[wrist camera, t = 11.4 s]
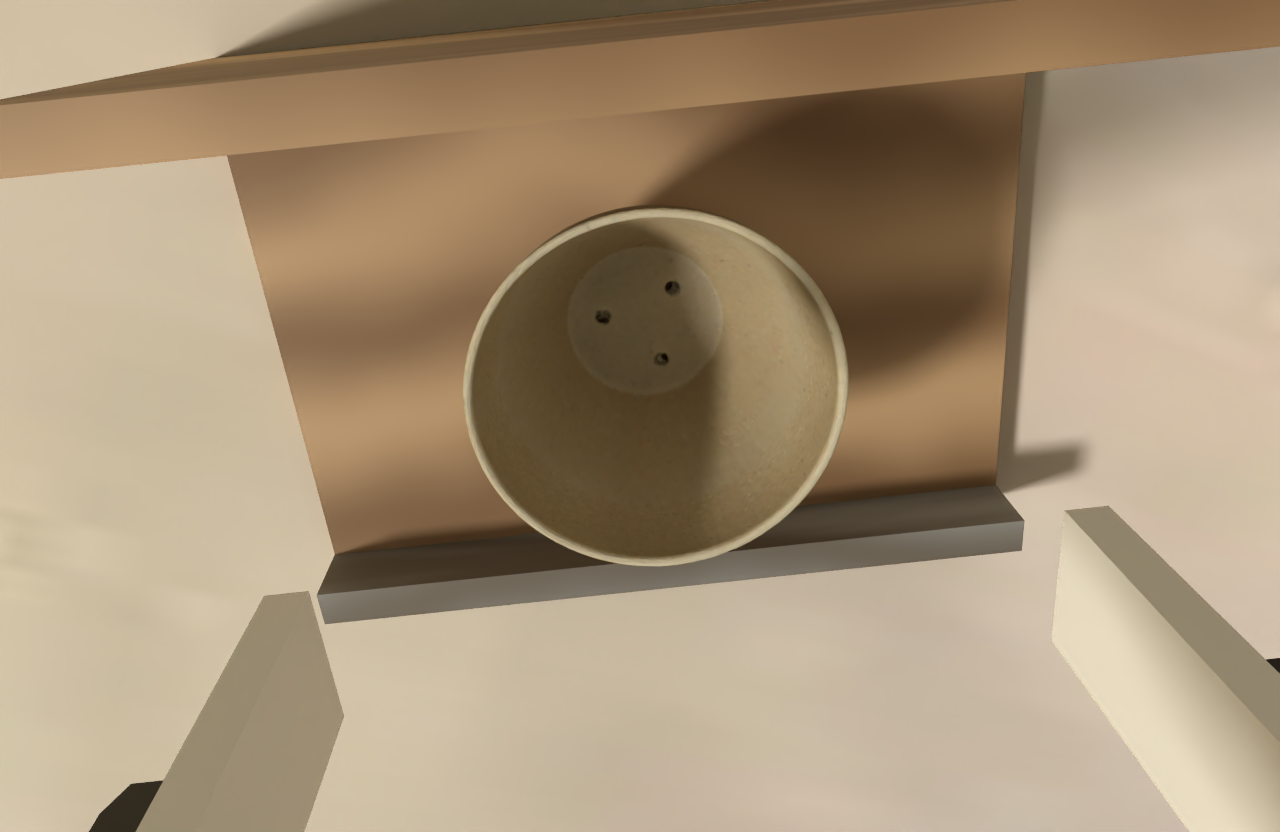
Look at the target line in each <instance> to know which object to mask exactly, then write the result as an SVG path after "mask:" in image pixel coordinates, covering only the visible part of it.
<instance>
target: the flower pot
mask: <svg viewBox="0 0 1280 832" xmlns="http://www.w3.org/2000/svg"><path fill="white" fill-rule="evenodd" d="M669 282H672V287H671V288H670V289H669V290H666V285H667V283H669ZM600 318H607V319H608V322H599V321H598V319H600ZM664 353H665V354H666V356H667V358H668V361H666V360H664V359H663V358H662V355H663V354H664ZM848 393H849V373H848V362H847V355H846V350H845V346H844V342H843V338H842V334H841V331H840V328H839V325H838V323H837V320H836V318H835V316H834V313H833V311H832V309H831V307H830V306H829V304H828V302H827V300H826V298H825V297H824V295H823V293H822V292H821V290H820V289H819V287H818V286H817V284H816V283H815V282H814V280H813V279H812V278H811V277H810V275H809V274H808V273H807V272H806V271H805V270H804V268H803V267H802V266H801V265H800V264H799V263H798V262H797V261H796V260H795V259H794V258H793V257H791V256H790V255H789V254H788V253H787V252H785V251H784V250H783V249H782V248H780V247H779V246H778V245H776V244H775V243H774V242H772V241H771V240H769V239H768V238H766V237H765V236H763V235H762V234H760V233H758V232H757V231H755V230H753V229H751V228H749V227H747V226H746V225H743V224H741V223H739V222H737V221H735V220H732V219H730V218H727V217H724V216H722V215H719V214H715V213H712V212H709V211H705V210H701V209H696V208H691V207H685V206H675V205H639V206H630V207H624V208H619V209H614V210H610V211H606V212H603V213H600V214H597V215H594V216H591V217H588V218H586V219H584V220H581V221H579V222H577V223H575V224H573V225H571V226H569V227H567V228H565V229H563V230H562V231H560V232H558V233H557V234H555V235H554V236H552V237H551V238H549V239H548V240H546V241H545V242H544V243H542V244H541V245H540V246H539V247H537V248H536V249H535V250H534V251H532V252H531V253H530V254H529V255H528V256H527V257H526V258H525V259H524V260H523V261H522V262H520V263H519V264H518V265H517V266H516V267H515V268H514V269H513V271H512V272H511V273H510V274H509V275H508V276H507V278H506V279H505V280H504V281H503V283H502V284H501V285H500V286H499V288H498V289H497V291H496V292H495V293H494V295H493V296H492V298H491V299H490V301H489V303H488V304H487V306H486V308H485V309H484V311H483V313H482V315H481V317H480V319H479V321H478V323H477V326H476V328H475V331H474V334H473V337H472V339H471V342H470V346H469V349H468V353H467V358H466V363H465V370H464V379H463V405H464V413H465V419H466V424H467V428H468V433H469V437H470V440H471V443H472V446H473V448H474V451H475V453H476V456H477V458H478V460H479V463H480V465H481V467H482V469H483V471H484V472H485V474H486V476H487V478H488V479H489V481H490V482H491V484H492V485H493V487H494V488H495V490H496V491H497V492H498V494H499V495H500V496H501V497H502V499H503V500H504V501H505V502H506V503H507V504H508V505H509V506H510V507H511V508H512V509H513V511H515V513H516V514H517V515H518V516H519V517H521V518H522V519H523V520H524V521H525V522H527V523H528V524H529V525H530V526H532V527H533V528H534V529H536V530H537V531H539V532H540V533H541V534H543V535H545V536H547V537H548V538H550V539H551V540H553V541H555V542H557V543H559V544H561V545H563V546H565V547H567V548H569V549H571V550H574V551H576V552H579V553H581V554H584V555H587V556H590V557H593V558H596V559H600V560H604V561H608V562H613V563H618V564H624V565H635V566H671V565H679V564H685V563H691V562H696V561H700V560H705V559H708V558H712V557H715V556H718V555H721V554H723V553H726V552H728V551H730V550H733V549H736V548H738V547H741V546H742V545H744V544H746V543H749V542H750V541H752V540H754V539H755V538H757V537H759V536H760V535H762V534H763V533H765V532H766V531H768V530H769V529H770V528H772V527H773V526H775V525H776V524H778V523H779V522H780V521H782V520H783V519H784V518H785V517H786V516H787V515H788V514H790V513H791V512H792V511H793V509H794V508H795V507H797V506H798V505H799V504H800V503H801V501H802V500H803V499H804V498H805V497H806V496H807V495H808V493H809V492H810V491H811V490H812V488H813V487H814V485H815V484H816V483H817V481H818V480H819V478H820V477H821V475H822V474H823V472H824V470H825V469H826V467H827V465H828V463H829V461H830V459H831V457H832V455H833V453H834V451H835V449H836V446H837V443H838V440H839V438H840V435H841V432H842V428H843V424H844V420H845V415H846V409H847V402H848Z"/></svg>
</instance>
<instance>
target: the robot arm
mask: <svg viewBox="0 0 1280 832" xmlns="http://www.w3.org/2000/svg"><path fill="white" fill-rule="evenodd" d="M1051 640H1052V642H1053V643H1054V644H1055V646H1056V647H1057V649H1058V650H1059V651H1060V653H1061V654H1062V656H1063V657H1064V658H1065V660H1066V661H1067V662H1068V664H1069V665H1070V667H1071V668H1072V669H1073V671H1074V672H1075V674H1076V675H1077V676H1078V678H1079V679H1080V681H1081V682H1082V683H1083V685H1084V686H1085V688H1086V689H1087V690H1088V692H1089V693H1090V695H1091V696H1092V697H1093V699H1094V700H1095V701H1096V703H1097V704H1098V706H1099V707H1100V708H1101V710H1102V711H1103V713H1104V714H1105V715H1106V717H1107V718H1108V720H1109V721H1110V722H1111V724H1112V725H1113V727H1114V728H1115V729H1116V731H1117V732H1118V733H1119V735H1120V736H1121V738H1122V739H1123V740H1124V742H1125V743H1126V745H1127V746H1128V747H1129V749H1130V750H1131V752H1132V753H1133V754H1134V756H1135V757H1136V759H1137V760H1138V761H1139V763H1140V764H1141V766H1142V767H1143V768H1144V770H1145V771H1146V772H1147V774H1148V775H1149V777H1150V778H1151V779H1152V781H1153V782H1154V784H1155V785H1156V786H1157V788H1158V789H1159V791H1160V792H1161V793H1162V795H1163V796H1164V798H1165V799H1166V800H1167V802H1168V803H1169V805H1170V806H1171V807H1172V809H1173V810H1174V811H1175V813H1176V814H1177V816H1178V817H1179V818H1180V820H1181V821H1182V823H1183V824H1184V825H1185V827H1186V828H1187V830H1188V831H1189V832H1280V658H1276V659H1267V660H1265V659H1264V658H1263V657H1262V656H1261V655H1260V654H1259V653H1258V652H1257V651H1256V650H1255V649H1254V648H1253V647H1252V646H1251V645H1250V644H1249V643H1248V642H1247V641H1246V640H1245V639H1244V638H1243V637H1242V636H1241V635H1240V634H1239V633H1238V632H1237V631H1236V630H1235V629H1234V628H1233V627H1232V626H1231V625H1230V624H1229V623H1228V622H1227V621H1226V620H1225V619H1223V618H1222V617H1221V616H1220V615H1219V614H1218V613H1217V612H1216V611H1215V610H1214V609H1213V608H1212V607H1211V606H1210V605H1209V604H1208V603H1207V602H1206V601H1205V600H1204V599H1203V598H1202V597H1201V596H1200V595H1199V594H1198V593H1197V592H1196V591H1195V590H1194V589H1193V588H1192V587H1191V586H1190V585H1189V584H1188V583H1187V582H1186V581H1185V580H1184V579H1183V578H1182V577H1181V576H1180V575H1179V574H1178V573H1177V572H1176V571H1175V570H1173V569H1172V568H1171V567H1170V566H1169V565H1168V564H1167V563H1166V562H1165V561H1164V560H1163V559H1162V558H1161V557H1160V556H1159V555H1158V554H1157V553H1156V552H1155V551H1154V550H1153V549H1152V548H1151V547H1150V546H1149V545H1148V544H1147V543H1146V542H1145V541H1144V540H1143V539H1142V538H1141V537H1140V536H1139V535H1138V534H1137V533H1136V532H1135V531H1134V530H1133V529H1132V528H1131V527H1130V526H1129V525H1128V524H1127V523H1126V522H1125V521H1123V520H1122V519H1121V518H1120V517H1119V516H1118V515H1117V514H1116V513H1115V512H1114V511H1113V510H1112V509H1111V508H1110V507H1109V506H1103V507H1094V508H1084V509H1075V510H1066V511H1065V513H1064V522H1063V532H1062V542H1061V551H1060V561H1059V571H1058V581H1057V590H1056V600H1055V610H1054V619H1053V629H1052V639H1051ZM343 718H344V714H343V711H342V707H341V704H340V700H339V697H338V693H337V689H336V686H335V682H334V679H333V675H332V672H331V668H330V665H329V661H328V658H327V654H326V651H325V647H324V644H323V640H322V637H321V633H320V630H319V626H318V623H317V619H316V616H315V612H314V609H313V605H312V601H311V598H310V594H309V591H306V592H296V593H287V594H278V595H268V596H264V597H263V599H262V601H261V603H260V605H259V606H258V608H257V610H256V612H255V614H254V616H253V617H252V619H251V621H250V623H249V625H248V627H247V628H246V630H245V632H244V634H243V636H242V638H241V639H240V641H239V643H238V645H237V647H236V649H235V650H234V652H233V654H232V656H231V658H230V660H229V661H228V663H227V665H226V667H225V669H224V671H223V672H222V674H221V676H220V678H219V680H218V682H217V683H216V685H215V687H214V689H213V691H212V693H211V694H210V696H209V698H208V700H207V702H206V704H205V705H204V707H203V709H202V711H201V713H200V715H199V716H198V718H197V720H196V722H195V724H194V726H193V727H192V729H191V731H190V733H189V735H188V737H187V738H186V740H185V742H184V744H183V746H182V748H181V749H180V751H179V753H178V755H177V757H176V759H175V760H174V762H173V764H172V766H171V768H170V770H169V771H168V773H167V775H166V777H165V779H164V780H163V781H154V782H145V783H136V784H131V785H130V786H128V787H127V788H126V789H125V790H124V791H123V792H122V793H121V794H120V795H119V796H118V797H117V798H116V799H115V800H114V801H113V802H112V803H111V804H110V805H109V806H107V807H106V808H105V809H104V810H103V811H102V812H101V813H100V814H99V816H98V818H97V819H96V821H95V823H94V824H93V826H92V828H91V829H90V831H89V832H304V831H305V828H306V825H307V822H308V819H309V817H310V814H311V811H312V808H313V805H314V802H315V799H316V796H317V793H318V790H319V787H320V785H321V782H322V779H323V776H324V773H325V770H326V767H327V764H328V761H329V758H330V755H331V752H332V750H333V747H334V744H335V741H336V738H337V735H338V732H339V729H340V726H341V723H342V720H343Z"/></svg>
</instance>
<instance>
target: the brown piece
mask: <svg viewBox="0 0 1280 832" xmlns="http://www.w3.org/2000/svg"><path fill="white" fill-rule="evenodd" d="M1277 46H1280V0H772V1H762V2H752V3H743V4H733V5H723V6H714V7H704V8H694V9H684V10H675V11H665V12H655V13H646V14H636V15H626V16H617V17H607V18H597V19H588V20H578V21H568V22H559V23H549V24H539V25H529V26H520V27H510V28H500V29H491V30H481V31H471V32H462V33H452V34H442V35H433V36H423V37H413V38H403V39H394V40H384V41H374V42H365V43H355V44H345V45H336V46H326V47H316V48H307V49H297V50H287V51H278V52H268V53H258V54H248V55H239V56H229V57H219V58H212V59H207V60H201V61H196V62H191V63H186V64H181V65H176V66H171V67H165V68H160V69H155V70H150V71H145V72H140V73H135V74H130V75H124V76H119V77H114V78H109V79H104V80H99V81H94V82H88V83H83V84H78V85H73V86H68V87H63V88H58V89H52V90H47V91H42V92H37V93H32V94H27V95H22V96H16V97H11V98H6V99H1V100H0V179H3V178H13V177H22V176H32V175H42V174H51V173H61V172H71V171H80V170H90V169H100V168H109V167H119V166H129V165H138V164H148V163H158V162H167V161H177V160H187V159H196V158H206V157H216V156H225V155H227V157H228V161H229V165H230V168H231V172H232V176H233V179H234V183H235V187H236V190H237V194H238V198H239V202H240V205H241V209H242V213H243V216H244V220H245V224H246V227H247V231H248V235H249V238H250V242H251V246H252V250H253V253H254V257H255V261H256V264H257V268H258V272H259V275H260V279H261V283H262V286H263V290H264V294H265V298H266V301H267V305H268V309H269V312H270V316H271V320H272V323H273V327H274V331H275V335H276V338H277V342H278V346H279V349H280V353H281V357H282V360H283V364H284V368H285V371H286V375H287V379H288V383H289V386H290V390H291V394H292V397H293V401H294V405H295V408H296V412H297V416H298V419H299V423H300V427H301V431H302V434H303V438H304V442H305V445H306V449H307V453H308V456H309V460H310V464H311V468H312V471H313V475H314V479H315V482H316V486H317V490H318V493H319V497H320V501H321V504H322V508H323V512H324V516H325V519H326V523H327V527H328V530H329V534H330V538H331V541H332V545H333V549H334V552H335V556H334V558H333V560H332V562H331V565H330V567H329V569H328V571H327V574H326V576H325V578H324V580H323V582H322V585H321V587H320V589H319V591H318V594H317V598H318V601H319V605H320V608H321V612H322V615H323V619H324V622H325V624H331V623H340V622H350V621H359V620H369V619H378V618H388V617H397V616H407V615H416V614H426V613H435V612H445V611H454V610H464V609H473V608H483V607H492V606H502V605H511V604H521V603H530V602H539V601H549V600H558V599H568V598H577V597H587V596H596V595H606V594H615V593H625V592H634V591H644V590H653V589H663V588H672V587H682V586H691V585H701V584H710V583H720V582H729V581H738V580H748V579H757V578H767V577H776V576H786V575H795V574H805V573H814V572H824V571H833V570H843V569H852V568H862V567H871V566H881V565H890V564H900V563H909V562H919V561H928V560H937V559H947V558H956V557H966V556H975V555H985V554H994V553H1004V552H1013V551H1022V541H1023V530H1024V520H1023V518H1022V517H1021V516H1020V515H1019V513H1018V512H1017V511H1016V510H1015V508H1014V507H1013V506H1012V505H1011V503H1010V502H1009V501H1008V500H1007V499H1006V497H1005V496H1004V495H1003V494H1002V492H1001V491H1000V490H999V489H998V487H997V486H996V472H997V459H998V445H999V431H1000V418H1001V404H1002V390H1003V377H1004V363H1005V350H1006V336H1007V322H1008V309H1009V295H1010V282H1011V268H1012V254H1013V241H1014V227H1015V213H1016V200H1017V186H1018V173H1019V159H1020V145H1021V132H1022V118H1023V105H1024V91H1025V77H1026V72H1036V71H1046V70H1055V69H1065V68H1075V67H1084V66H1094V65H1104V64H1113V63H1123V62H1133V61H1142V60H1152V59H1162V58H1171V57H1181V56H1190V55H1200V54H1210V53H1219V52H1229V51H1239V50H1248V49H1258V48H1268V47H1277ZM639 205H675V206H685V207H691V208H696V209H701V210H705V211H709V212H712V213H715V214H719V215H722V216H724V217H727V218H730V219H732V220H735V221H737V222H739V223H741V224H743V225H746V226H747V227H749V228H751V229H753V230H755V231H757V232H758V233H760V234H762V235H763V236H765V237H766V238H768V239H769V240H771V241H772V242H774V243H775V244H776V245H778V246H779V247H780V248H782V249H783V250H784V251H785V252H787V253H788V254H789V255H790V256H791V257H793V258H794V259H795V260H796V261H797V262H798V263H799V264H800V265H801V266H802V267H803V268H804V270H805V271H806V272H807V273H808V274H809V275H810V277H811V278H812V279H813V280H814V282H815V283H816V284H817V286H818V287H819V289H820V290H821V292H822V293H823V295H824V297H825V298H826V300H827V302H828V304H829V306H830V307H831V309H832V311H833V313H834V316H835V318H836V320H837V323H838V325H839V328H840V331H841V334H842V338H843V342H844V346H845V350H846V355H847V362H848V373H849V393H848V402H847V409H846V415H845V420H844V424H843V428H842V432H841V435H840V438H839V440H838V443H837V446H836V449H835V451H834V453H833V455H832V457H831V459H830V461H829V463H828V465H827V467H826V469H825V470H824V472H823V474H822V475H821V477H820V478H819V480H818V481H817V483H816V484H815V485H814V487H813V488H812V490H811V491H810V492H809V493H808V495H807V496H806V497H805V498H804V499H803V500H802V501H801V503H800V504H799V505H798V506H797V507H795V508H794V509H793V511H792V512H791V513H790V514H788V515H787V516H786V517H785V518H784V519H783V520H782V521H780V522H779V523H778V524H776V525H775V526H773V527H772V528H770V529H769V530H768V531H766V532H765V533H763V534H762V535H760V536H759V537H757V538H755V539H754V540H752V541H750V542H749V543H746V544H744V545H742V546H741V547H738V548H736V549H733V550H730V551H728V552H726V553H723V554H721V555H718V556H715V557H712V558H708V559H705V560H700V561H696V562H691V563H685V564H679V565H671V566H635V565H624V564H618V563H613V562H608V561H604V560H600V559H596V558H593V557H590V556H587V555H584V554H581V553H579V552H576V551H574V550H571V549H569V548H567V547H565V546H563V545H561V544H559V543H557V542H555V541H553V540H551V539H550V538H548V537H547V536H545V535H543V534H541V533H540V532H539V531H537V530H536V529H534V528H533V527H532V526H530V525H529V524H528V523H527V522H525V521H524V520H523V519H522V518H521V517H519V516H518V515H517V514H516V513H515V511H513V509H512V508H511V507H510V506H509V505H508V504H507V503H506V502H505V501H504V500H503V499H502V497H501V496H500V495H499V494H498V492H497V491H496V490H495V488H494V487H493V485H492V484H491V482H490V481H489V479H488V478H487V476H486V474H485V472H484V471H483V469H482V467H481V465H480V463H479V460H478V458H477V456H476V453H475V451H474V448H473V446H472V443H471V440H470V437H469V433H468V428H467V424H466V419H465V413H464V405H463V379H464V370H465V363H466V358H467V353H468V349H469V346H470V342H471V339H472V337H473V334H474V331H475V328H476V326H477V323H478V321H479V319H480V317H481V315H482V313H483V311H484V309H485V308H486V306H487V304H488V303H489V301H490V299H491V298H492V296H493V295H494V293H495V292H496V291H497V289H498V288H499V286H500V285H501V284H502V283H503V281H504V280H505V279H506V278H507V276H508V275H509V274H510V273H511V272H512V271H513V269H514V268H515V267H516V266H517V265H518V264H519V263H520V262H522V261H523V260H524V259H525V258H526V257H527V256H528V255H529V254H530V253H531V252H532V251H534V250H535V249H536V248H537V247H539V246H540V245H541V244H542V243H544V242H545V241H546V240H548V239H549V238H551V237H552V236H554V235H555V234H557V233H558V232H560V231H562V230H563V229H565V228H567V227H569V226H571V225H573V224H575V223H577V222H579V221H581V220H584V219H586V218H588V217H591V216H594V215H597V214H600V213H603V212H606V211H610V210H614V209H619V208H624V207H630V206H639ZM671 287H672V282H669V283H667V285H666V290H669V289H670V288H671ZM598 321H599V322H608V319H607V318H600V319H598ZM662 358H663V359H664V360H666V361H668V358H667V356H666V354H665V353H664V354H663V355H662Z"/></svg>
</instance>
